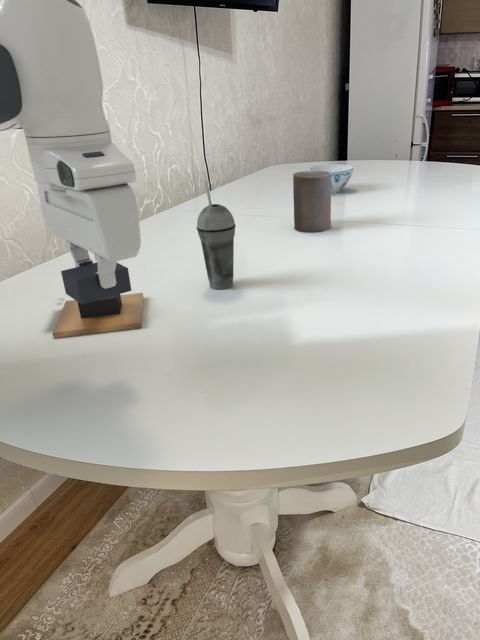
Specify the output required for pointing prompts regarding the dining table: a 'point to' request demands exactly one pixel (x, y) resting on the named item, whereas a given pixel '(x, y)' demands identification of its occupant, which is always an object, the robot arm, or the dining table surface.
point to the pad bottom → (101, 307)
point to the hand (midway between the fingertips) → (96, 279)
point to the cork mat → (100, 318)
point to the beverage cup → (217, 243)
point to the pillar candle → (312, 201)
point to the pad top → (93, 283)
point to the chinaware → (336, 175)
